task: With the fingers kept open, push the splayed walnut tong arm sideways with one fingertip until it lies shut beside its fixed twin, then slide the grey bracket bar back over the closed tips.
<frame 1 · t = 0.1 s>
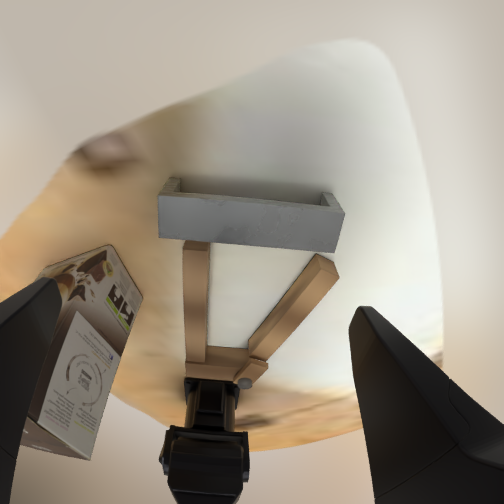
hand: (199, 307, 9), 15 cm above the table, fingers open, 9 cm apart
coffee box: (90, 280, 27), on the table
grey bracket bar: (250, 213, 21), point 2 cm above the table, slide at 0.0 cm
tong arm: (279, 331, 27), point 2 cm above the table, hinge at 22.0°
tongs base: (220, 354, 32), on the table
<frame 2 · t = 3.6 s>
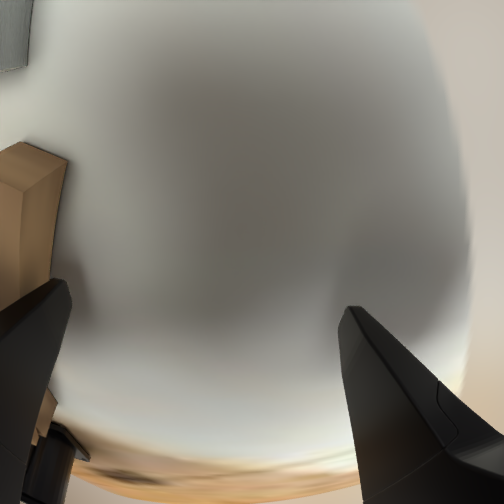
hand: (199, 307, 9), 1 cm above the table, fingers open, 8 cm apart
tong arm: (11, 354, 9), point 2 cm above the table, hinge at 21.6°, touching gripper
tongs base: (7, 377, 13), on the table
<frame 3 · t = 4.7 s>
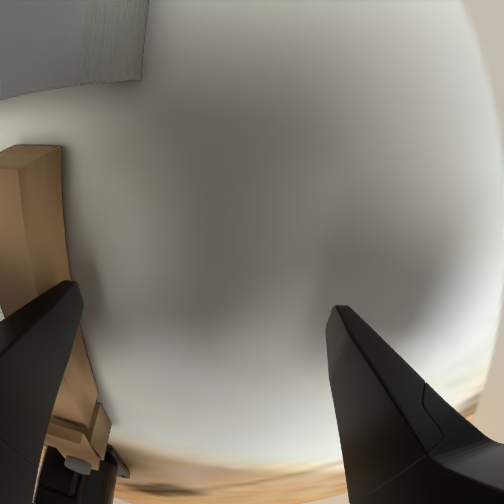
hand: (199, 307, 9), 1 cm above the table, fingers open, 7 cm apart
tong arm: (47, 367, 9), point 2 cm above the table, hinge at 5.6°, touching gripper
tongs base: (54, 402, 14), on the table
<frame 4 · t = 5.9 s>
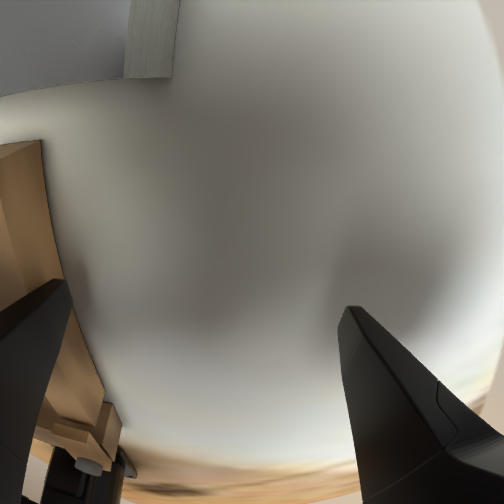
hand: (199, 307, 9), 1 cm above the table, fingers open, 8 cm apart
tong arm: (46, 364, 9), point 2 cm above the table, hinge at -0.7°, touching gripper
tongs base: (64, 402, 14), on the table
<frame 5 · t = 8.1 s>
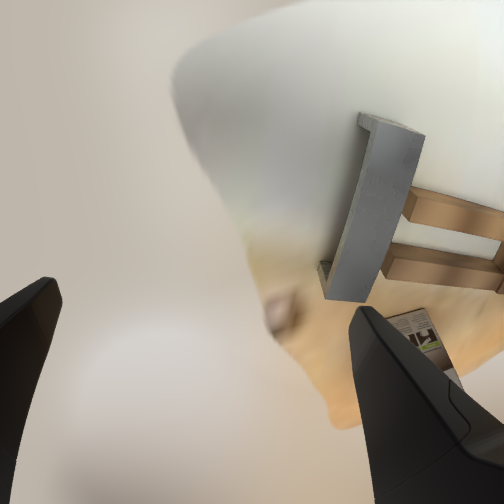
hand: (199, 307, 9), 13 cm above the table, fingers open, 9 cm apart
coffee box: (392, 344, 29), on the table
grey bracket bar: (366, 212, 19), point 2 cm above the table, slide at 0.0 cm
tong arm: (485, 225, 19), point 2 cm above the table, hinge at -1.2°
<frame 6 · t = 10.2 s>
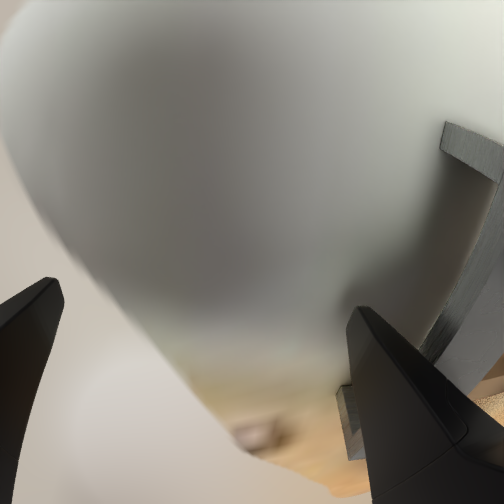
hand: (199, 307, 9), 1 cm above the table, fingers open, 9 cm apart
grey bracket bar: (440, 333, 8), point 2 cm above the table, slide at 1.1 cm, touching gripper
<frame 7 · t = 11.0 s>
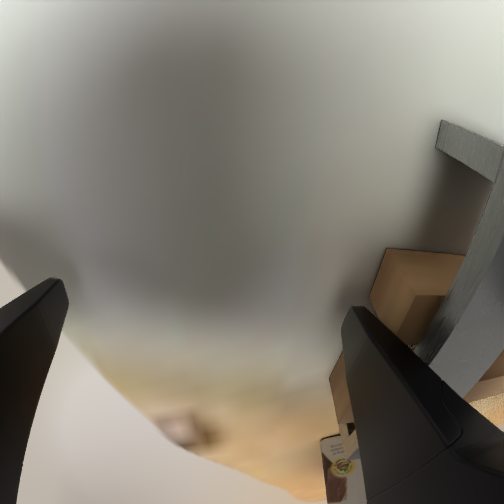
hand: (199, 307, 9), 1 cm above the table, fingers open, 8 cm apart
coffee box: (367, 446, 18), on the table
grey bracket bar: (437, 333, 8), point 2 cm above the table, slide at 5.1 cm
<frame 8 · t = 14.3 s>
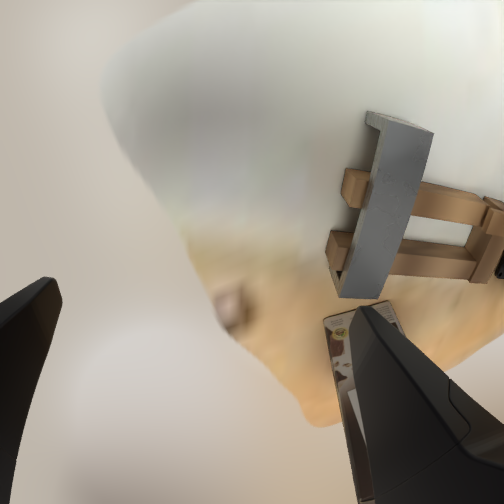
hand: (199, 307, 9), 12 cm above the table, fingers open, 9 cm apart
coffee box: (358, 339, 28), on the table
grey bracket bar: (376, 209, 19), point 2 cm above the table, slide at 5.1 cm
tong arm: (446, 207, 18), point 2 cm above the table, hinge at -1.1°
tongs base: (479, 234, 22), on the table
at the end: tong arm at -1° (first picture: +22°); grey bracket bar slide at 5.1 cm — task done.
